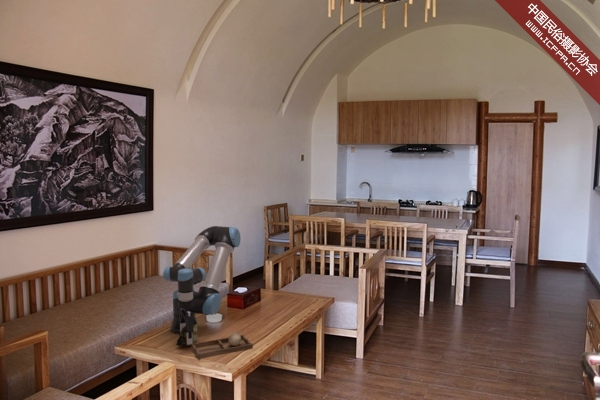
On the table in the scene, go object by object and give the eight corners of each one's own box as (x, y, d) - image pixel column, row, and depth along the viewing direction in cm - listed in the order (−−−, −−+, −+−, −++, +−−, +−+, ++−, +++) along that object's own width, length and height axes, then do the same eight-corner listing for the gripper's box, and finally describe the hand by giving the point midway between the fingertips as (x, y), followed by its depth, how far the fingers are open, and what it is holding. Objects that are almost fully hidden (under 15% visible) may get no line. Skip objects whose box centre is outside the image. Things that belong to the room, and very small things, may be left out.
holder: (191, 349, 247) (191, 344, 247) (243, 339, 259) (243, 334, 259) (199, 360, 235) (199, 354, 234) (252, 349, 247) (252, 344, 246)
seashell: (174, 342, 256) (174, 324, 255) (196, 339, 260) (196, 321, 259) (176, 350, 246) (176, 331, 245) (199, 347, 250) (199, 328, 249)
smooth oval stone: (226, 344, 251) (226, 332, 251) (238, 342, 254) (238, 329, 254) (230, 349, 245) (230, 336, 245) (243, 346, 248) (242, 334, 248)
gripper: (172, 294, 260) (173, 332, 262) (184, 307, 238) (185, 349, 239) (186, 292, 263) (187, 330, 265) (199, 305, 241) (200, 346, 243)
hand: (186, 339), depth 252 cm, fingers open, 13 cm apart
